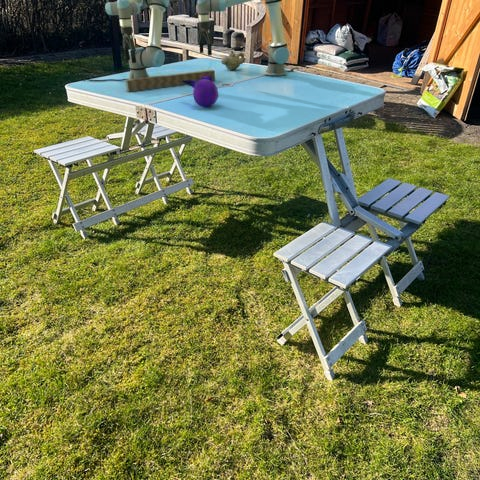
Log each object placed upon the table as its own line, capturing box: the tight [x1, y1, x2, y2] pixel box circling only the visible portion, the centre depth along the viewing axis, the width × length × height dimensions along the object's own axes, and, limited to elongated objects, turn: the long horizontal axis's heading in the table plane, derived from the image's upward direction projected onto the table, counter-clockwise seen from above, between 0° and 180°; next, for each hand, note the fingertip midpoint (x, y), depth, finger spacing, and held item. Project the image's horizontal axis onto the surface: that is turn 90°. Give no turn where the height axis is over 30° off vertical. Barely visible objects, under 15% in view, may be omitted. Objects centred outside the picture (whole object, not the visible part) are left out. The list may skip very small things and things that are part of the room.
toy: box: [182, 75, 219, 108], centre depth 268 cm, size 16×18×27 cm
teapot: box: [221, 50, 245, 71], centre depth 369 cm, size 21×12×15 cm, turn 120°
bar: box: [124, 69, 216, 93], centre depth 320 cm, size 66×5×8 cm, turn 119°
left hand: (131, 61), depth 301 cm, fingers open, 13 cm apart
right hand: (205, 54), depth 324 cm, fingers open, 13 cm apart
